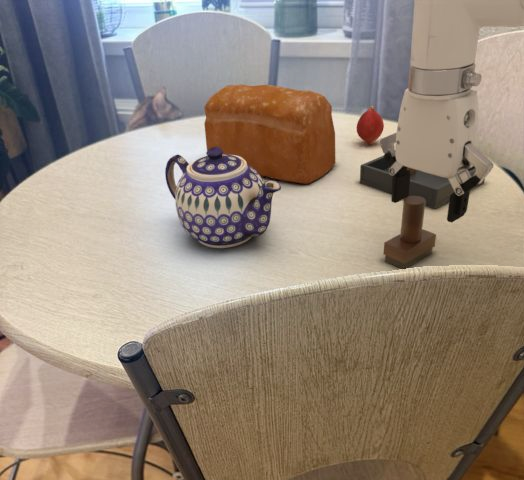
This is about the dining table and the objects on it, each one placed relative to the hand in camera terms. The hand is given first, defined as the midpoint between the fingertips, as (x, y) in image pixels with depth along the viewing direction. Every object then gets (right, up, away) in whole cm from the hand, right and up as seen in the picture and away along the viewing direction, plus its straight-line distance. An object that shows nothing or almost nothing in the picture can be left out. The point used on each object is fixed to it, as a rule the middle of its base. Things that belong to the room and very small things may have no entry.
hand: (426, 208), depth 76 cm
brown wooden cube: (+4, +14, +27) cm, 30 cm away
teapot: (-30, -1, +15) cm, 33 cm away
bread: (-22, +19, +37) cm, 47 cm away
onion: (0, +26, +43) cm, 50 cm away
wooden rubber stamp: (-1, -6, +4) cm, 8 cm away
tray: (+6, +11, +25) cm, 28 cm away
